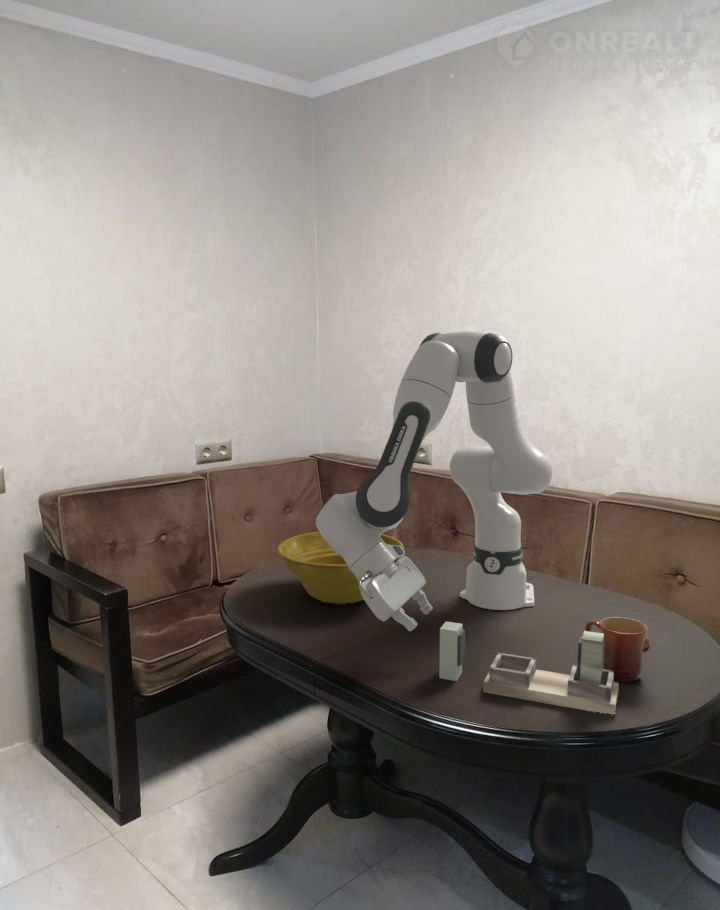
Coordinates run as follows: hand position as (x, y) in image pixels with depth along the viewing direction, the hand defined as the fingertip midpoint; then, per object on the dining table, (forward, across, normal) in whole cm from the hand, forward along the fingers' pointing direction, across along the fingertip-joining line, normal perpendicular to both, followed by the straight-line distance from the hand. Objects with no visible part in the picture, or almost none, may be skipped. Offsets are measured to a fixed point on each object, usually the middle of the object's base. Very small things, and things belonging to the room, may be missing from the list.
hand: (422, 619), depth 141 cm
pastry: (+33, +28, -18) cm, 47 cm away
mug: (+32, +13, -17) cm, 39 cm away
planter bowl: (-16, +34, +31) cm, 49 cm away
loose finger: (+12, 0, +3) cm, 12 cm away
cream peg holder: (+25, 0, -10) cm, 27 cm away
